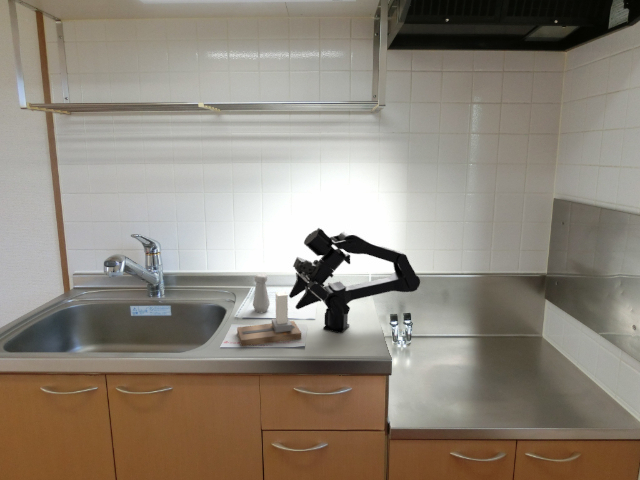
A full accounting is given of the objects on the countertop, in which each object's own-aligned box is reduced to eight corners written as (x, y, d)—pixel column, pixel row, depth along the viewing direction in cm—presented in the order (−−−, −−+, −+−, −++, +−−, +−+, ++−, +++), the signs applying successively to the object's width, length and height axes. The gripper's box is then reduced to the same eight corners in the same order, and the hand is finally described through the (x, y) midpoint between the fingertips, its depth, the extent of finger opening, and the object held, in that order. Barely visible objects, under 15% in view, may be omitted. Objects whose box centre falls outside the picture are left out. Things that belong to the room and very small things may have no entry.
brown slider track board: (293, 326, 142) (293, 320, 141) (301, 338, 133) (301, 332, 133) (237, 333, 136) (237, 326, 136) (241, 346, 128) (241, 339, 128)
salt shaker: (268, 313, 151) (268, 277, 148) (251, 313, 151) (251, 277, 148) (270, 307, 157) (270, 272, 154) (254, 307, 157) (253, 272, 154)
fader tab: (287, 322, 139) (287, 289, 136) (292, 330, 134) (292, 296, 131) (271, 324, 138) (271, 291, 135) (275, 332, 132) (275, 298, 129)
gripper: (301, 241, 141) (268, 277, 141) (317, 257, 124) (279, 298, 124) (325, 262, 145) (293, 297, 145) (343, 280, 128) (307, 320, 128)
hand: (293, 302), depth 135 cm, fingers open, 9 cm apart
